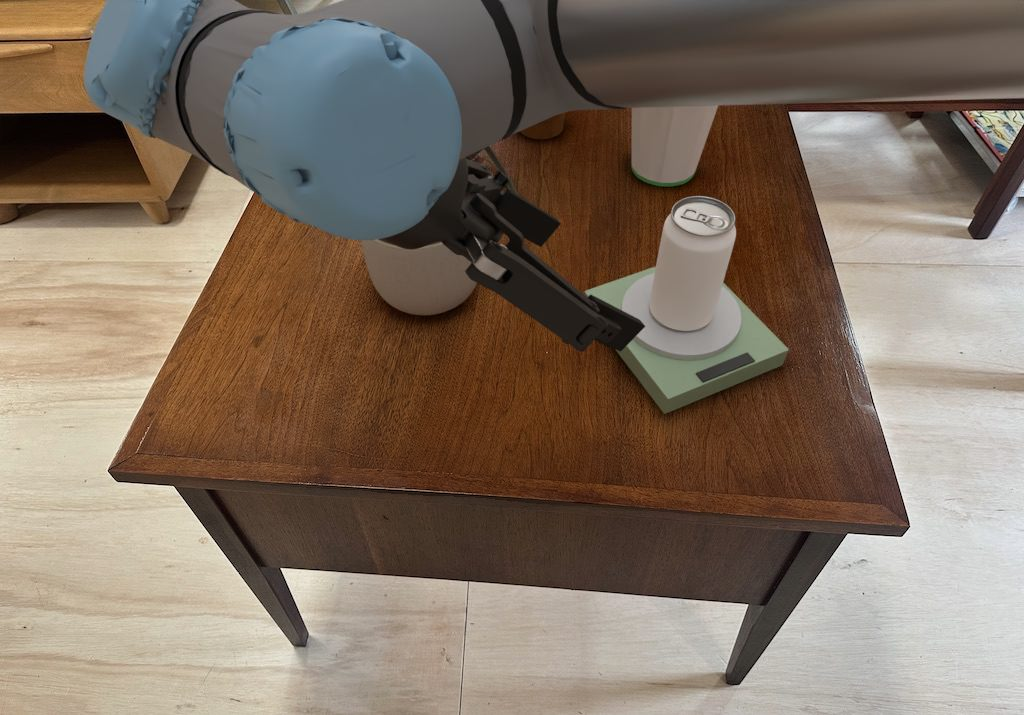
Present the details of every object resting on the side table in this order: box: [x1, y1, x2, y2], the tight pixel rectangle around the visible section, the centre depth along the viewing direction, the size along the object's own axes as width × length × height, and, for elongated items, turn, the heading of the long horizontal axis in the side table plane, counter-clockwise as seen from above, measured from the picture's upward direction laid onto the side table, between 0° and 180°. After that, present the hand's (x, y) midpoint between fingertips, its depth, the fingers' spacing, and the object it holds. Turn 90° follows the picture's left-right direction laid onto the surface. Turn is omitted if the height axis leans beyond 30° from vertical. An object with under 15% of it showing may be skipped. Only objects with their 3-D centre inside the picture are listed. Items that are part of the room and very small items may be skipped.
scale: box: [583, 265, 790, 415], centre depth 73 cm, size 16×14×3 cm
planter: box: [360, 239, 478, 316], centre depth 75 cm, size 12×12×11 cm
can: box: [649, 195, 737, 331], centre depth 67 cm, size 6×6×12 cm
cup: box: [630, 106, 719, 188], centre depth 87 cm, size 12×12×15 cm
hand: (587, 280), depth 58 cm, fingers open, 13 cm apart
